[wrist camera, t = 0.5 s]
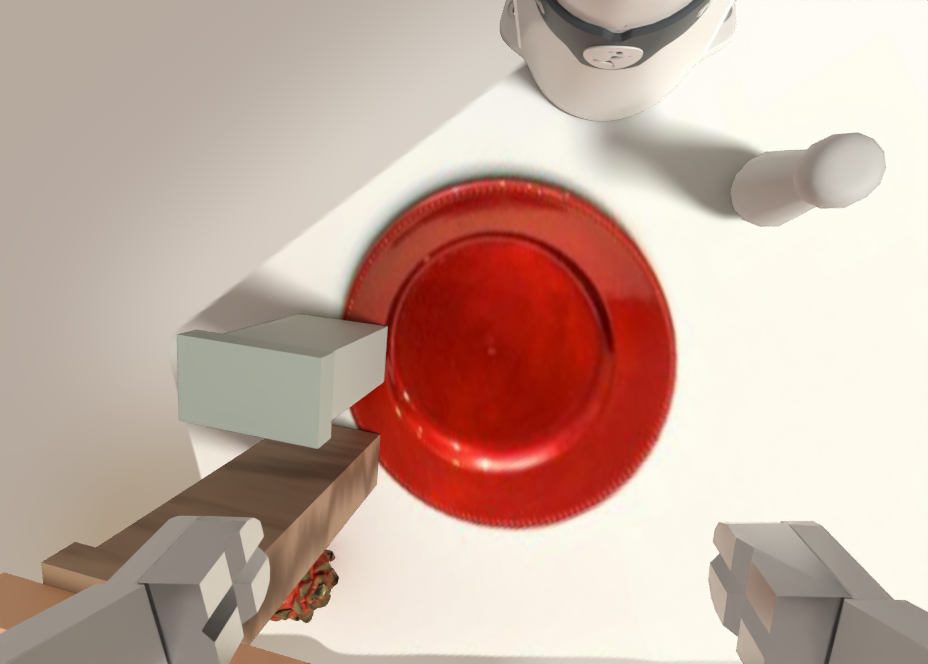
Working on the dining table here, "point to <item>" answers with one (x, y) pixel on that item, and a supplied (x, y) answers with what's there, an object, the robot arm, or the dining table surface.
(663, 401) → the dining table surface
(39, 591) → the bar
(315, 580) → the dragon fruit
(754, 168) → the salt shaker
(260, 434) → the low stand
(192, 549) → the robot arm
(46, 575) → the tall stand
